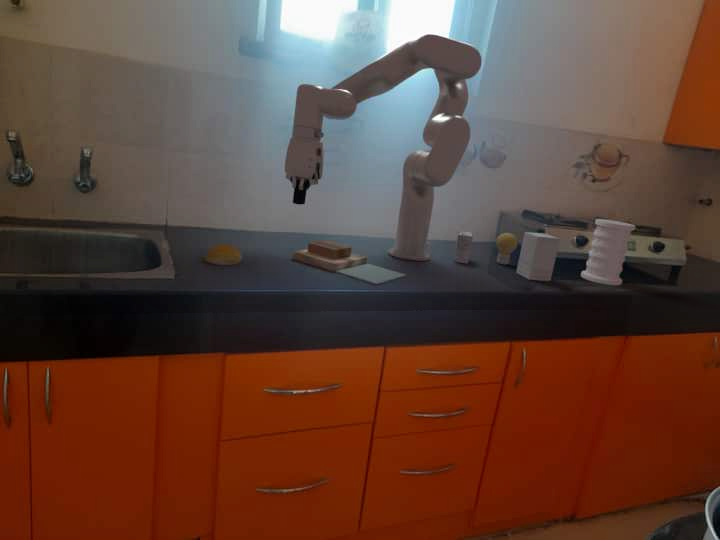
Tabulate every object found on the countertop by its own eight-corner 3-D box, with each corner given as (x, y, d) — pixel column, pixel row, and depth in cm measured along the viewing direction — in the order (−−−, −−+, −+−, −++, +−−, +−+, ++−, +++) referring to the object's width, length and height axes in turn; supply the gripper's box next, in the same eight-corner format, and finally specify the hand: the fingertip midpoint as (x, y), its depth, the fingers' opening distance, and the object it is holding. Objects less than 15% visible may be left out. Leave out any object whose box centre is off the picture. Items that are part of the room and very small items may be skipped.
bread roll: (201, 264, 116) (202, 247, 115) (211, 255, 125) (212, 240, 124) (237, 268, 117) (238, 251, 116) (244, 259, 125) (245, 243, 124)
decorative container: (609, 277, 160) (624, 221, 155) (628, 287, 149) (644, 228, 144) (574, 272, 159) (587, 217, 155) (590, 282, 148) (605, 223, 144)
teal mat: (367, 265, 135) (367, 263, 135) (405, 276, 128) (406, 274, 128) (336, 272, 123) (336, 270, 123) (376, 284, 117) (376, 283, 117)
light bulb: (499, 260, 163) (505, 230, 160) (516, 265, 158) (523, 235, 156) (488, 261, 159) (494, 231, 156) (505, 267, 154) (511, 235, 152)
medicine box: (468, 264, 152) (473, 236, 149) (453, 262, 152) (458, 234, 150) (467, 259, 159) (472, 232, 157) (453, 256, 160) (458, 230, 158)
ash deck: (325, 253, 142) (326, 246, 142) (366, 264, 135) (366, 257, 134) (292, 258, 131) (293, 251, 130) (334, 271, 124) (335, 264, 123)
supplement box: (551, 281, 143) (561, 238, 140) (528, 280, 141) (537, 236, 138) (537, 274, 150) (546, 233, 147) (515, 272, 148) (524, 231, 145)
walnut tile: (324, 249, 138) (325, 240, 137) (350, 256, 133) (351, 247, 133) (307, 251, 132) (308, 242, 132) (334, 259, 127) (335, 250, 127)
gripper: (337, 139, 130) (328, 208, 135) (295, 133, 138) (287, 198, 143) (319, 136, 124) (310, 209, 129) (276, 130, 132) (269, 198, 137)
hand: (298, 203), depth 136 cm, fingers closed
